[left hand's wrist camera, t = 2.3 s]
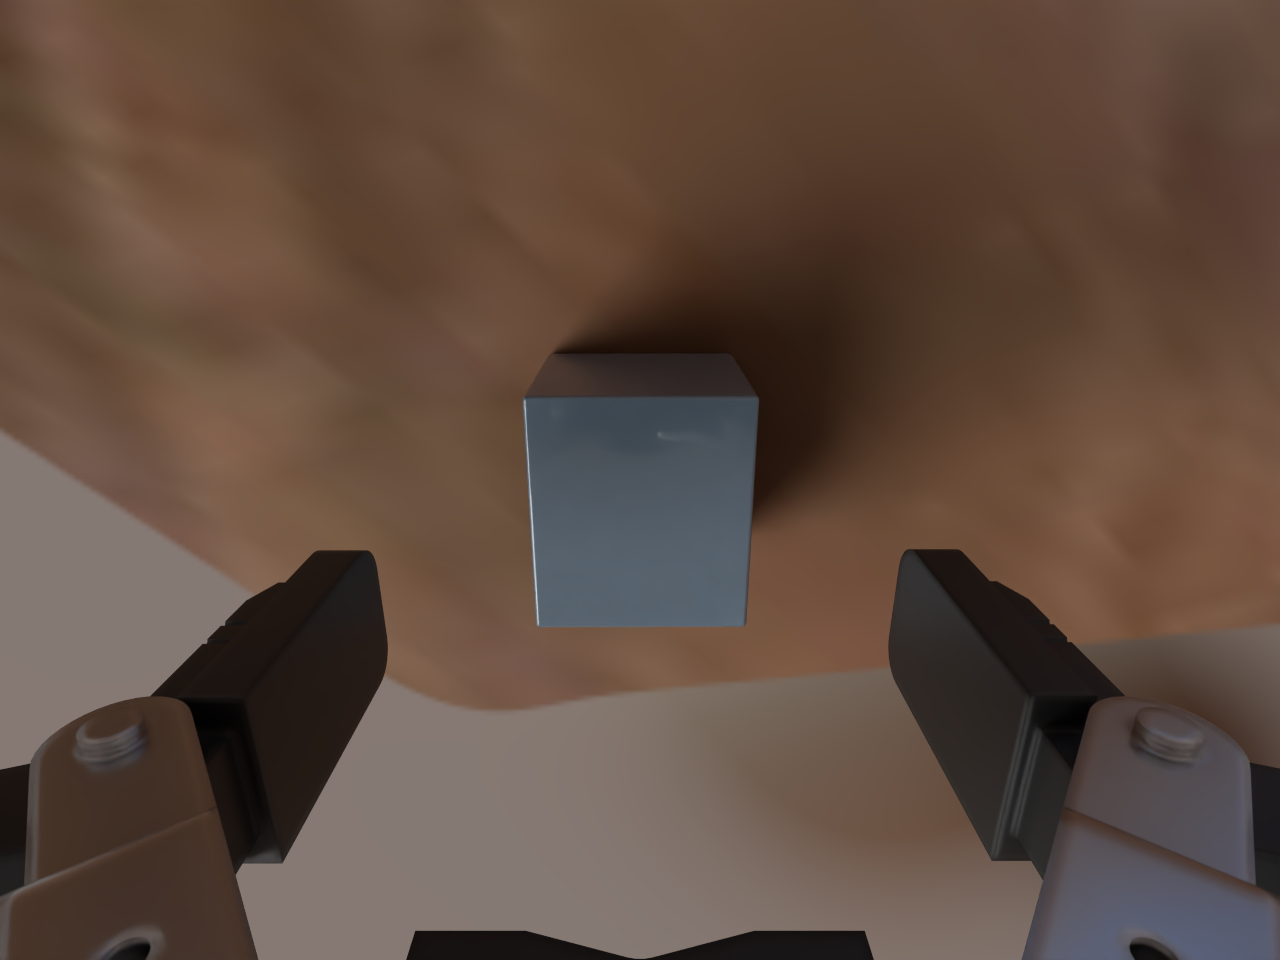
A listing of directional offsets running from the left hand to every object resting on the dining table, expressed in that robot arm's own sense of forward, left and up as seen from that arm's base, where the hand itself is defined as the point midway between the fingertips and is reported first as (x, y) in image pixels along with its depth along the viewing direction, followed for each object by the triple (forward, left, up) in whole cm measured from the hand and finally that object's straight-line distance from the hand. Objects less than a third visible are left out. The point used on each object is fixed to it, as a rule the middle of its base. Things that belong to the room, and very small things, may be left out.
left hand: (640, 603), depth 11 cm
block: (0, 0, -7) cm, 7 cm away
